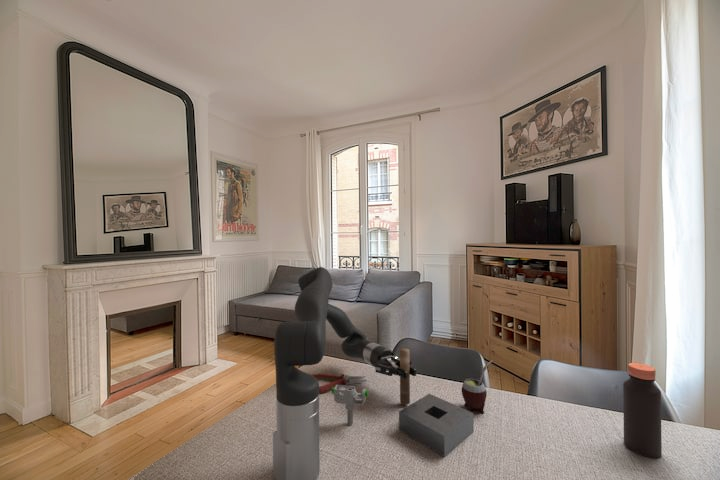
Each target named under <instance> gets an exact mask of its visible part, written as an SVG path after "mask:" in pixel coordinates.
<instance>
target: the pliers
mask: <svg viewBox="0 0 720 480" xmlns="http://www.w3.org/2000/svg"><path fill="white" fill-rule="evenodd" d="M311 375H312V376H314V377H315V378H316V379H317V380H318V381H327V382H329V383H327V384H324V385H319V395H322V394H326V393H329V392H332V387H335V386H336V385H345V386H348V385H355V384H360V383H364V382H368V381H367V379H365V378H366V376H365V375H363V376H361V375H360V376H358V375H356V376H355V375H351V376H349V375H348V376H345V375H344V373H343V374H340V375H336V374H335V375H334V374H328V373H327V374H326V373H313V374H311Z"/></svg>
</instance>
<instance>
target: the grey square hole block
mask: <svg viewBox="0 0 720 480" xmlns="http://www.w3.org/2000/svg"><path fill="white" fill-rule="evenodd" d="M474 423H475V422H474V412H473V411H472V412H470V411H468V409H465V408H463V407H460V406H458V405H456V404H455V403H452V402H449V401H447V400H445V399H443V398H440V397H438V396H436V395H433V394H431V393H428V394H427V395H425V396H423V397H422V398H420V399H418V400H416V401H415V402H412V403H411V404H408V406H406V407H404V408H402V409H400V410H399V411H398V430H399V431H400V432H401V433H403V434H405V435H407V436H408V437H410V438H411V439H414V440H415V441H417V442H418V443H420V444H422V445H424V446H425V447H426V448H428V449H431V450H432V451H433V452H435V453H437V454H438V455H440V456H441V457H443V458H445V457H447V456H448V455H449V454H450V453H451V452H452V451H454V450H455V449H456V448H457V447H458V446H460V444H462V443H463V441H465V440H466V439H467V438H469V437H470V435H472V434H473V433H474V429H475V428H474Z"/></svg>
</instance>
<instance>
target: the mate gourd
mask: <svg viewBox="0 0 720 480" xmlns="http://www.w3.org/2000/svg"><path fill="white" fill-rule="evenodd" d="M493 362H494V359H492V360H490V361H489V362H487V363H486V364H485V366H483V368H482V371H481V374H480V378H479V379H475V378H466V379H465V380H463V381H464V382H463V383H462V385H461V394H462V395H461V396H462V398H463V401H464V406H465V407H467V410H468V411H470V412H472V413H473V411H476V412H478V413H480V414H482V415H483V414H485V410H484V408H485V404H486V400H487V396H488V395H487V389H486V386H485V384H484V383H483V382H482V379H483V377H484V374H485V371H486V370H487V367H488V366H489V365H491V364H492V363H493Z"/></svg>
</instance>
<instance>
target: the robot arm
mask: <svg viewBox="0 0 720 480" xmlns="http://www.w3.org/2000/svg"><path fill="white" fill-rule="evenodd" d="M333 285H334V284H333V279H332V275H331V274H330V272H329V270H328V269H326V268H325V267H322V266H319V267H316V268H314V269H312V270H310V271H309V272H306V273H304V274H303V275H301V276H300V277H299V278H298V287H299V289H300V291H301V292H300V293H299V294H298V297H297V300H296V302H295V305H294V313H295V316H296V318H297V320H298V321H283V322H281V323H279V324H278V326H277V327H276V330H275V332H274V340H273V341H274V343H273V344H274V346H273V347H274V348H273V350H274V363H275V386H276V387H275V388H276V389H275V390H276V393H275V394H276V431H275V430H274V432H273V433H272V476H273V478H274V480H317V479H318V477H319V476H320V472H321V471H320V464H321V462H320V460H321V459H320V394H319V386H320V383H319V380H317V379H316V378H315V377H314V376H312V375H313V374H310V373H307V372H305V371H302V370H300V369H299V368H297V366H298V367H299V366H301V367H302V366H314V365H318V364H319V363H321V362H322V360H323V359H324V356H325V355H324V354H325V351H326V340H327V338H326V335H327V334H326V332H327V330H326V327H327V326H326V325H327V324H326V321H327V322H328V323H329V324H330V326H331V328H332V329H333V330H334V332H335V334H336V335H337V336H338V337H339V338H341V339H344V340H343V341H342V343H341V345H340V346H341V351H342V353H343V354H344V355H346V356H348V357H349V358H352V359H361V360H363V361H365V362H366V363H367V364H368V365H370V366H372V367H373V368H375V369H374V370H375V373H378V374H381V375H386V376H389V377H392V376H393V375H394V376H398V377H399V378H400V377H402V378H404V379H407V378H408V373H407V371H405V370H404V369H401V368H400V356H396V355H395V354H394V352H393V351H392V350H391V349H390V348H388V347H385V346H383V345H381V344H379V343H375V342H373V341H371V340H369V339H367V336H366V335H365V333H364V332H362V331H361V330H360V329H358V328H357V327H356V326H355V325H354V324H353V323H352V321H351V320H350V317H349V316H348V315H347V313H346V312H345V311H344V310H342V309H341V308H339V307H338V306H335V305H333V304H330V303H329V299H330V295H331V292H332V289H333ZM410 376H413V377H416V376H417V368H415V367H413V362H412V360H411V359H410Z"/></svg>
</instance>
